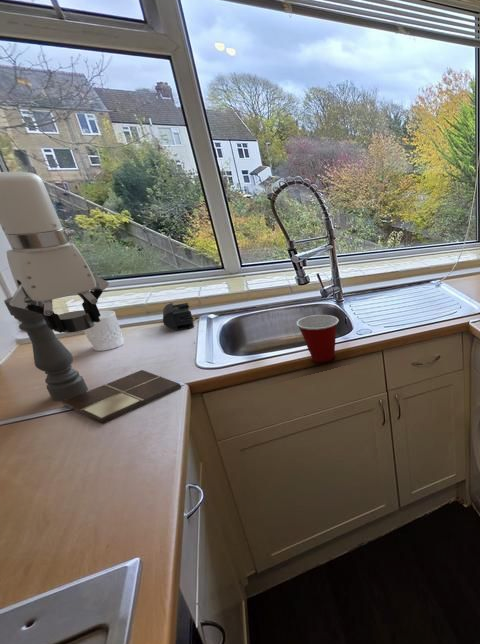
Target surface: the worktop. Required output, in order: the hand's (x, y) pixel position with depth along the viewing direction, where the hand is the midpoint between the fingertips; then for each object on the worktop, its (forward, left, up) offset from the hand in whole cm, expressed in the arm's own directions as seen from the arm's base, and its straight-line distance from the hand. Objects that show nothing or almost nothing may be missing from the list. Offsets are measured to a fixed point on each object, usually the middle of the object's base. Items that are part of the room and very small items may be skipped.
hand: (77, 325), depth 85 cm
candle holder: (-1, +17, -22) cm, 28 cm away
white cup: (+17, +39, -22) cm, 48 cm away
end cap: (+35, +36, -22) cm, 55 cm away
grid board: (+4, +4, -22) cm, 22 cm away
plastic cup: (+39, -24, -22) cm, 51 cm away
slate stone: (0, 0, -1) cm, 1 cm away
